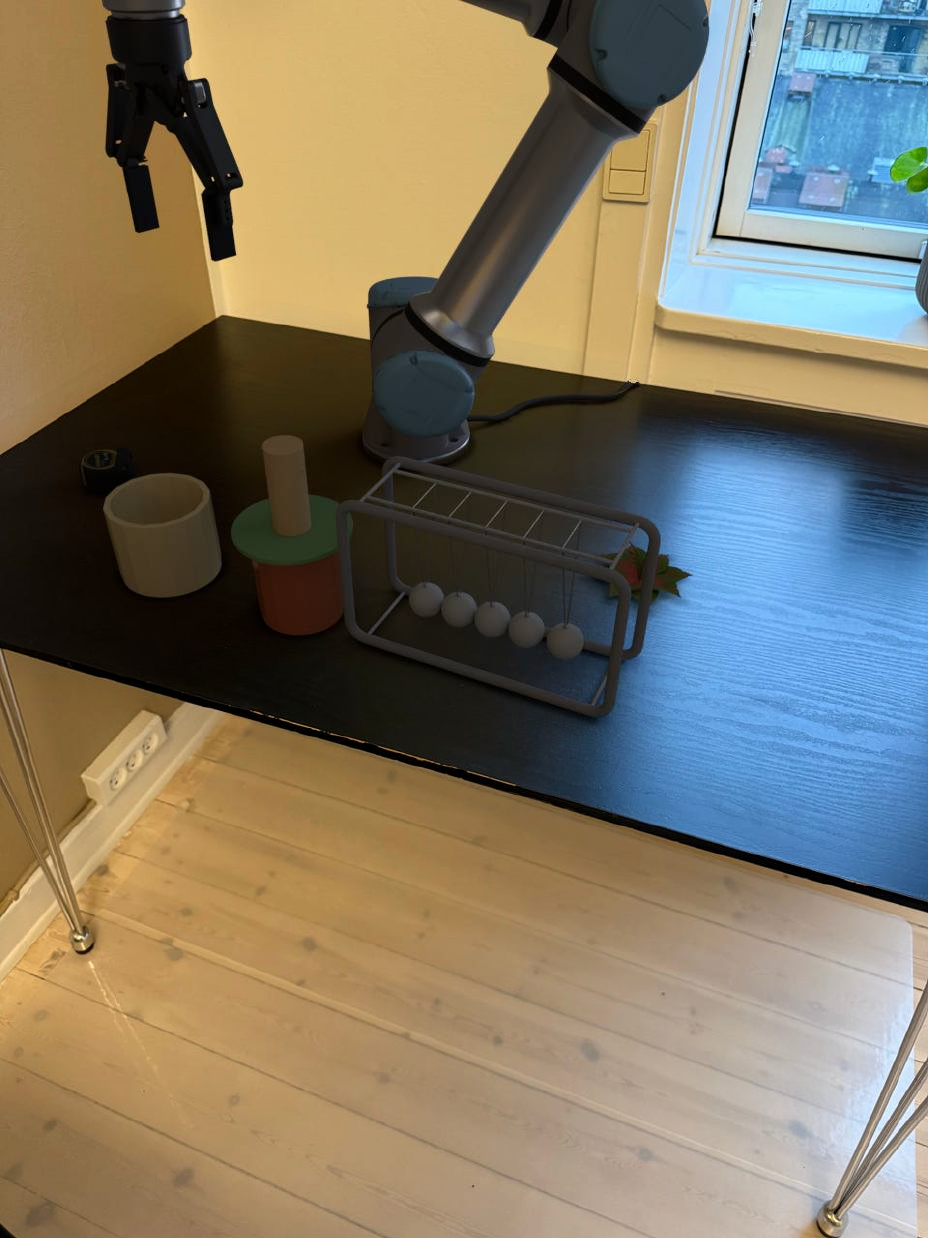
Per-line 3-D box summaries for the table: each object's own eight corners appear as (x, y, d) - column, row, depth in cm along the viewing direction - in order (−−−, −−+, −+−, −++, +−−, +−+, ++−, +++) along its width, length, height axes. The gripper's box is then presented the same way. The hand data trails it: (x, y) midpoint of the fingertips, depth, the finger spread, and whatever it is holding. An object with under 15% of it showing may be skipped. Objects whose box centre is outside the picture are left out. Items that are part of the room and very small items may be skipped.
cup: (341, 581, 111) (335, 508, 105) (346, 631, 104) (340, 556, 98) (261, 587, 110) (250, 514, 103) (261, 639, 103) (249, 563, 96)
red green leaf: (711, 580, 112) (718, 547, 109) (650, 625, 105) (656, 592, 102) (628, 538, 118) (633, 507, 116) (566, 579, 112) (569, 546, 109)
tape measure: (138, 492, 125) (132, 467, 123) (83, 500, 124) (76, 475, 121) (135, 467, 130) (129, 442, 128) (82, 474, 129) (76, 449, 126)
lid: (349, 499, 106) (343, 411, 99) (357, 565, 96) (350, 472, 90) (234, 507, 105) (219, 418, 98) (230, 575, 95) (214, 482, 88)
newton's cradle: (641, 661, 101) (665, 519, 89) (610, 725, 93) (632, 580, 82) (390, 586, 110) (383, 449, 99) (344, 639, 103) (331, 498, 92)
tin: (223, 537, 118) (211, 469, 112) (219, 593, 109) (206, 523, 103) (128, 544, 116) (110, 476, 110) (116, 601, 108) (97, 531, 102)
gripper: (38, 3, 94) (89, 226, 107) (193, 31, 81) (229, 280, 95) (105, -4, 98) (146, 211, 112) (262, 22, 86) (287, 261, 99)
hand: (184, 243), depth 103 cm, fingers open, 13 cm apart
